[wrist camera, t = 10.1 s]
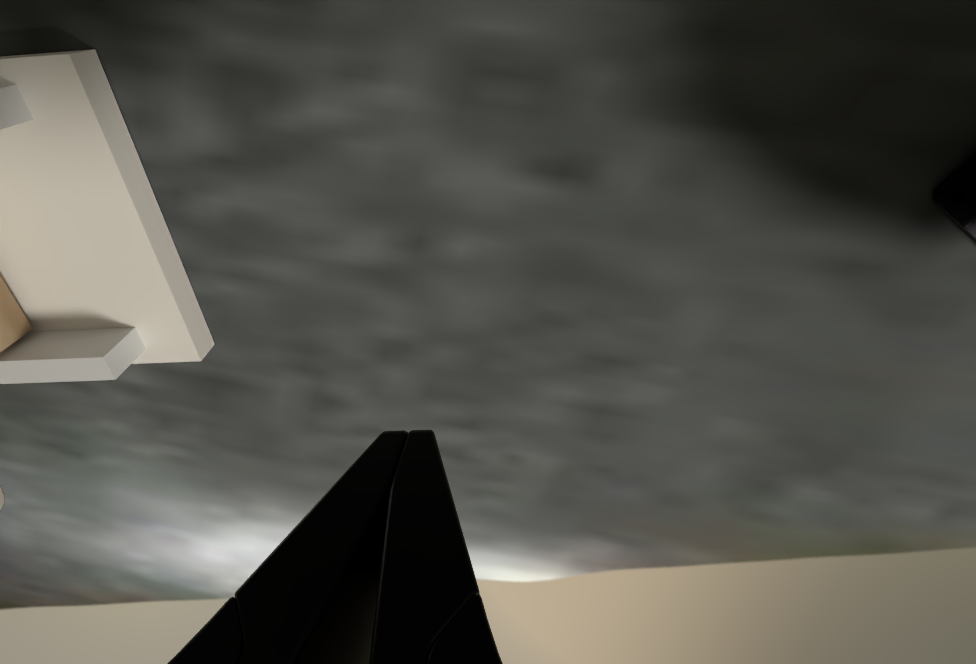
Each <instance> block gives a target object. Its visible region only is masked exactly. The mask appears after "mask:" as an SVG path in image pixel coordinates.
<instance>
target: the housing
mask: <svg viewBox="0 0 976 664" xmlns="http://www.w3.org/2000/svg"><path fill="white" fill-rule="evenodd" d="M0 276H1V277H2V279H3V280H4V282H5V284H6V285H7V287H8V289H9V290H10V292H11V294H12V295H13V297H14V299H15V300H16V302H17V303H18V305H19V307H20V308H21V310H22V312H23V313H24V315H25V317H26V318H27V320H28V322H29V323H30V325H31V326H32V328H33V329H32V330H30V331H29V332H28V333H26V334H25V335H24V336H22V337H21V338H19V339H18V340H17V341H15V342H14V343H13V344H11V345H10V346H9V347H7V348H6V349H5V350H3V351H2V352H0V384H12V383H40V382H67V381H95V380H116V379H117V378H118V377H119V376H120V375H121V374H122V372H123V371H124V370H125V369H126V368H127V367H128V366H129V365H130V364H139V363H166V362H192V361H202V359H203V358H204V357H205V356H206V354H207V353H208V352H209V351H210V350H211V348H212V347H213V346H214V345H215V344H214V341H213V339H212V336H211V334H210V331H209V329H208V326H207V324H206V322H205V319H204V317H203V314H202V312H201V309H200V307H199V304H198V302H197V299H196V297H195V294H194V292H193V289H192V287H191V285H190V282H189V280H188V277H187V275H186V272H185V270H184V267H183V265H182V262H181V260H180V257H179V255H178V252H177V250H176V248H175V245H174V243H173V240H172V238H171V235H170V233H169V230H168V228H167V225H166V223H165V220H164V218H163V216H162V213H161V211H160V208H159V206H158V203H157V201H156V198H155V196H154V193H153V191H152V188H151V186H150V183H149V181H148V179H147V176H146V174H145V171H144V169H143V166H142V164H141V161H140V159H139V156H138V154H137V151H136V149H135V146H134V144H133V142H132V139H131V137H130V134H129V132H128V129H127V127H126V124H125V122H124V119H123V117H122V114H121V112H120V109H119V107H118V105H117V102H116V100H115V97H114V95H113V92H112V90H111V87H110V85H109V82H108V80H107V77H106V75H105V72H104V70H103V68H102V65H101V63H100V60H99V58H98V55H97V53H96V50H95V49H91V50H79V51H66V52H53V53H40V54H27V55H14V56H1V57H0Z"/></svg>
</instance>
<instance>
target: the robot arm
mask: <svg viewBox="0 0 976 664" xmlns="http://www.w3.org/2000/svg"><path fill="white" fill-rule="evenodd" d="M956 189H958V190H957V193H956V194H955V195H954V196H953V197H952V198H950V199H949V195H950V194H951V193H952V192H953V191H954V190H956ZM933 201H934V203H935V204H936V205H937V206H938V207H939V208H940V209H941V210H942V211H943V212H945V213H946V214H947V215H948V216H949V217H950V218H951V219H952V220H953V221H954V222H955V223H957V224H958V225H959V226H960V227H961V228H962V229H963V230H964V231H965V232H966V233H967V234H969V235H970V236H971V237H972V238H973V239H974V240H975V241H976V153H975V154H974V155H973V156H971V157H970V158H969V159H968V160H967V161H966V162H964V163H963V164H962V165H961V166H960V167H959V168H958V169H956V170H955V171H954V172H953V173H952V174H951V175H949V176H948V177H947V178H946V179H945V180H944V181H942V182H941V183H940V184H939V185H938V186H937V188H936V189H935V191H934V193H933ZM168 664H502V661H501V658H500V656H499V653H498V650H497V647H496V644H495V641H494V638H493V635H492V632H491V629H490V626H489V623H488V620H487V616H486V612H485V609H484V605H483V602H482V598H481V596H480V594H479V589H478V585H477V582H476V578H475V575H474V571H473V568H472V564H471V561H470V557H469V554H468V550H467V547H466V543H465V540H464V536H463V533H462V529H461V526H460V522H459V519H458V515H457V511H456V508H455V504H454V501H453V497H452V494H451V490H450V487H449V483H448V480H447V476H446V473H445V469H444V466H443V462H442V459H441V455H440V452H439V448H438V445H437V441H436V438H435V434H434V432H433V431H432V430H412V431H410V432H409V433H408V432H406V431H385V432H383V433H381V434H380V435H379V436H378V437H377V439H376V440H375V441H374V442H373V443H372V444H371V445H370V446H369V447H368V448H367V449H366V451H365V452H364V453H363V454H362V455H361V456H360V457H359V458H358V459H357V460H356V461H355V463H354V464H353V465H352V466H351V467H350V468H349V469H348V470H347V471H346V472H345V473H344V475H343V476H342V477H341V478H340V479H339V480H338V481H337V482H336V483H335V484H334V485H333V487H332V488H331V489H330V490H329V491H328V492H327V493H326V494H325V495H324V496H323V497H322V499H321V500H320V501H319V502H318V503H317V504H316V505H315V506H314V507H313V508H312V509H311V511H310V512H309V513H308V514H307V515H306V516H305V517H304V518H303V519H302V520H301V521H300V523H299V524H298V525H297V526H296V527H295V528H294V529H293V530H292V531H291V532H290V533H289V535H288V536H287V537H286V538H285V539H284V540H283V541H282V542H281V543H280V544H279V545H278V547H277V548H276V549H275V550H274V551H273V552H272V553H271V554H270V555H269V556H268V557H267V559H266V560H265V561H264V562H263V563H262V564H261V565H260V566H259V567H258V568H257V569H256V571H255V572H254V573H253V574H252V575H251V576H250V577H249V578H248V579H247V580H246V581H245V583H244V584H243V585H242V586H241V587H240V588H239V589H238V590H237V591H236V593H235V598H234V597H231V598H230V599H229V600H228V601H227V602H226V603H225V604H224V605H223V606H222V608H220V610H219V611H218V612H217V613H216V614H215V615H214V616H213V617H212V618H211V619H210V621H208V623H207V624H206V625H205V626H204V627H203V628H202V629H201V630H200V631H199V632H198V633H197V634H196V635H195V636H194V637H193V638H192V639H191V640H190V641H189V643H187V645H186V646H185V647H184V648H183V649H182V650H181V651H180V652H179V653H178V654H177V655H176V656H175V657H174V658H173V659H172V660H171V661H170V662H169V663H168Z"/></svg>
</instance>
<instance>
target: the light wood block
mask: <svg viewBox="0 0 976 664" xmlns="http://www.w3.org/2000/svg"><path fill="white" fill-rule="evenodd" d="M32 329H33V328H32V326H31V325H30V323H29V322H28V320H27V318H26V317H25V315H24V313H23V312H22V310H21V308H20V307H19V305H18V303H17V302H16V300H15V299H14V297H13V295H12V294H11V292H10V290H9V289H8V287H7V285H6V284H5V282H4V280H3V279H2V277H1V276H0V352H2V351H3V350H5V349H6V348H7V347H9V346H10V345H11V344H13V343H14V342H15V341H17V340H18V339H19V338H21V337H22V336H24V335H25V334H26V333H28V332H29V331H30V330H32Z"/></svg>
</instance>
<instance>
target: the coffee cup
mask: <svg viewBox="0 0 976 664" xmlns="http://www.w3.org/2000/svg"><path fill="white" fill-rule="evenodd" d="M3 503H4V495H3V492H2V489H1V487H0V510H1V509H2V506H3Z"/></svg>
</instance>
